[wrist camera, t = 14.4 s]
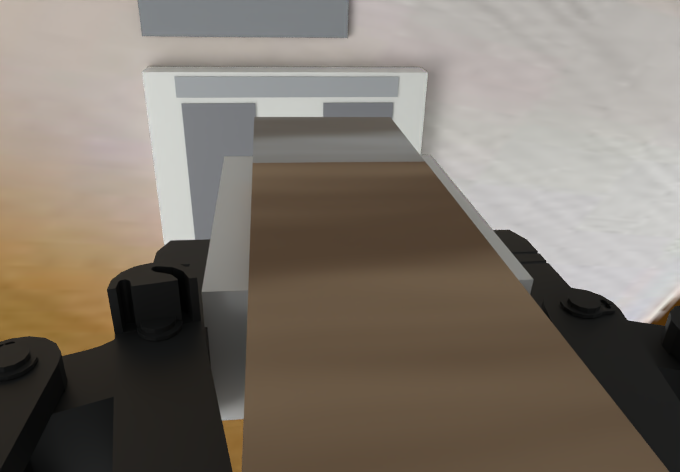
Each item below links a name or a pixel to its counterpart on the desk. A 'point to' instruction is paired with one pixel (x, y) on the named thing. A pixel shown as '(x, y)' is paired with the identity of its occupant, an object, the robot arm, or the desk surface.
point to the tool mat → (244, 18)
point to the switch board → (238, 122)
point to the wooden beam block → (400, 325)
